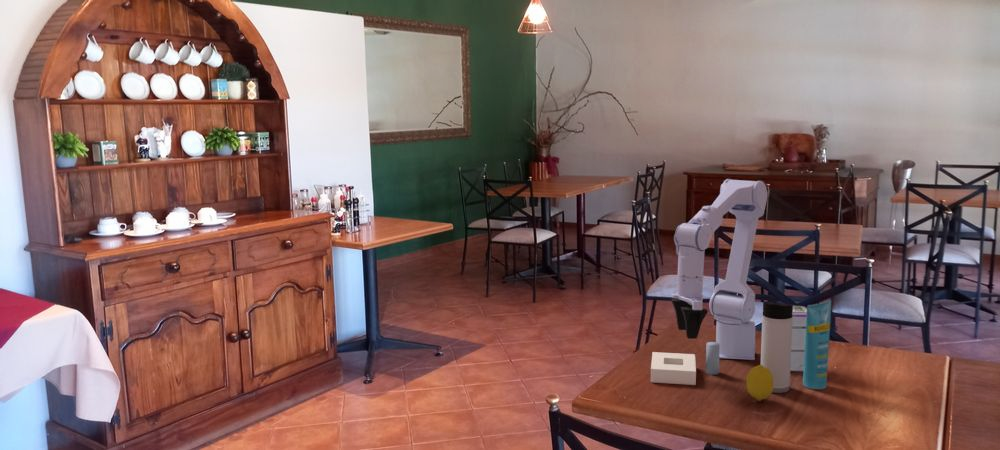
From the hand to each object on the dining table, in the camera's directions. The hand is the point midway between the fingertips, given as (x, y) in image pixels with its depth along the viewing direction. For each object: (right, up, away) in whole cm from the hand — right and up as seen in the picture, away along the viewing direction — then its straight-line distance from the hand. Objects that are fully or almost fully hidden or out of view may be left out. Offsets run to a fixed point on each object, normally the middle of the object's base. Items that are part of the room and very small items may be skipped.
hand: (687, 333), depth 176 cm
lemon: (+12, -13, -13) cm, 22 cm away
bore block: (-3, -10, +3) cm, 11 cm away
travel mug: (+18, -11, -6) cm, 22 cm away
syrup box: (+27, -9, +7) cm, 29 cm away
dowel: (+7, -10, +4) cm, 13 cm away
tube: (+27, -11, -6) cm, 30 cm away
